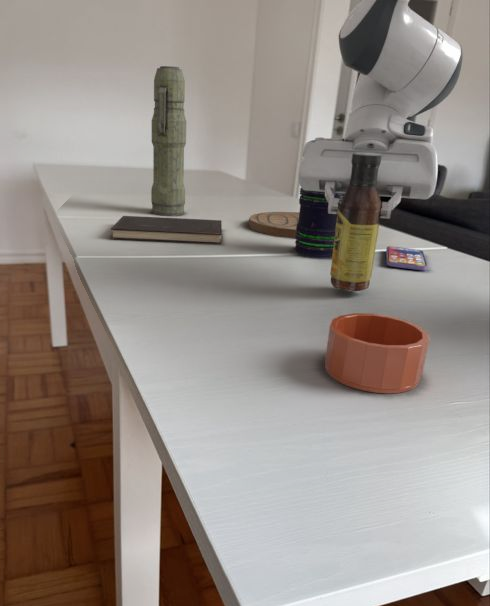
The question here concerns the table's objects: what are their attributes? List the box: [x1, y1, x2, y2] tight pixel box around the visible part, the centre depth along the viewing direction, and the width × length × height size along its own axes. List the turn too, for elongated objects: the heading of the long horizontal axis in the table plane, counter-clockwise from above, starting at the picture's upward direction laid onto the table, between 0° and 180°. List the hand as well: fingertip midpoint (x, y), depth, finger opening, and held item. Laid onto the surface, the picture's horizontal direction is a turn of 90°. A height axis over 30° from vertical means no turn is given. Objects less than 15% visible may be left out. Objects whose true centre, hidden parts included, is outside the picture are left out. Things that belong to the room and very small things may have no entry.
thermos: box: [150, 65, 187, 217], centre depth 141 cm, size 9×12×35 cm
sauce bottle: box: [329, 152, 382, 292], centre depth 82 cm, size 7×6×20 cm
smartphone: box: [385, 245, 428, 271], centre depth 108 cm, size 1×7×15 cm
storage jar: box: [294, 187, 345, 260], centre depth 109 cm, size 10×10×15 cm
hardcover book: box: [110, 215, 223, 245], centre depth 121 cm, size 16×23×2 cm
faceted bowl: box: [324, 312, 430, 394], centre depth 59 cm, size 10×10×5 cm
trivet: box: [248, 211, 300, 239], centre depth 135 cm, size 25×25×2 cm
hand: (358, 213), depth 81 cm, fingers closed on sauce bottle, 6 cm apart
